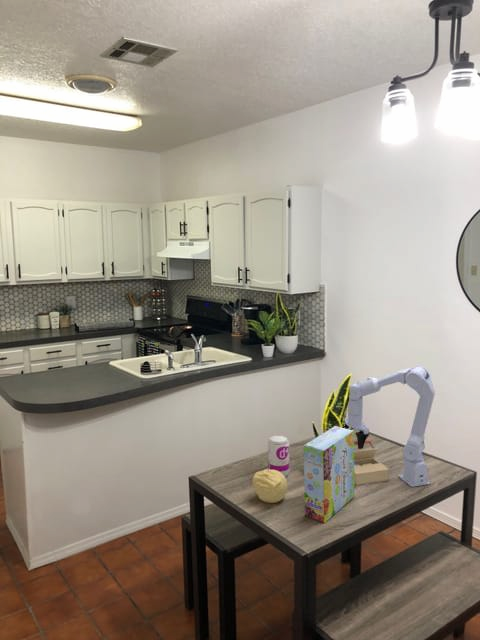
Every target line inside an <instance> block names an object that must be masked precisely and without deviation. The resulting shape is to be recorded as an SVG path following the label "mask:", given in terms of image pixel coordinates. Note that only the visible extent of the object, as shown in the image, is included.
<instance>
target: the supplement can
mask: <svg viewBox="0 0 480 640" xmlns="http://www.w3.org/2000/svg"><path fill="white" fill-rule="evenodd" d="M288 439H289V438H288V437H287V436H285V435H280V434H276V435H272V436H270V437H269V440H268V441H267V442H268V446H267V448H268V449H267V453H268V457H267V458H268V466H267V467H268V468H267V469H268V470H277V471H279V472H281V473H282V474H283V475H284V476H285V478H287V476H289V474H290V441H289V440H288Z"/></svg>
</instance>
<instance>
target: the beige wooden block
mask: <svg viewBox="0 0 480 640" xmlns="http://www.w3.org/2000/svg"><path fill="white" fill-rule="evenodd" d="M365 444H370V446H371V448H368V449H367V448H366V449H359V450H354V460H361V459H368V458H374V457H375V455H376V454H377V452H378V447H376V446H375V444H374V442H373V439H372V438H371V439H366V441H365ZM365 444H364V445H365ZM354 446H358V441H357V440H356V441H355V440H354Z"/></svg>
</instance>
